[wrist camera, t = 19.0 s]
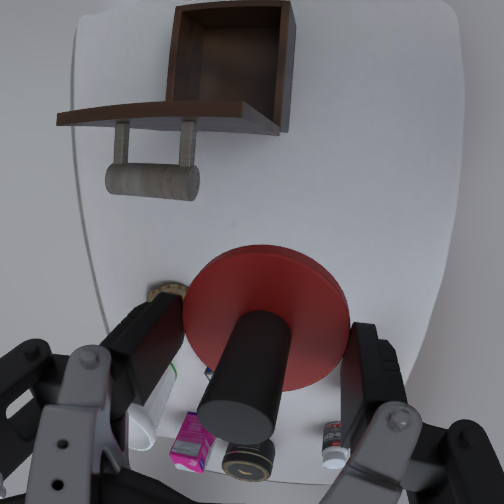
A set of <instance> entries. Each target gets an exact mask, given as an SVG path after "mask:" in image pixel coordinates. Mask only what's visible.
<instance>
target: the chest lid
mask: <svg viewBox="0 0 504 504" xmlns="http://www.w3.org/2000/svg"><path fill="white" fill-rule="evenodd" d="M56 125H57V126H96V127H115V141H114V163H113V164H111V165H110V166H109V167H108V169H107V172H106V175H105V186H106V189H107V191H108V192H109V193H110V194H115V195H128V196H141V197H152V198H163V199H174V200H184V201H193V200H194V199H195V198H196V196H197V194H198V190H199V185H200V174H199V170H198V168H197V167H196V166H194V159H195V145H196V132H197V131H212V132H233V133H248V134H261V135H273V136H279V133H280V127H278V126H277V125H276V124H274V123H273V122H272V121H270V120H269V119H268V118H266V117H265V116H264V115H262V114H261V113H259V112H258V111H257V110H255V109H254V108H252V107H251V106H250V105H248V104H247V103H245V102H244V101H223V100H189V101H160V102H144V103H131V104H120V105H111V106H102V107H95V108H87V109H80V110H74V111H69V112H62V113H58V114H57V122H56ZM130 128H135V129H148V130H159V131H181V138H180V153H179V165H176V164H153V163H128V146H129V129H130Z"/></svg>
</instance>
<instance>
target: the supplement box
mask: <svg viewBox="0 0 504 504" xmlns="http://www.w3.org/2000/svg"><path fill="white" fill-rule="evenodd" d="M216 438H217V437H216V436H214V435H212V434H211V433H209V432H208V431H207V430H206V429H205V428H204V427H203V426H202V425H201V424H200V422H199V420H198V417H197V413H192V412H188V413H187V416H186V418H185V420H184V422H183V424H182V427H181V429H180V431H179V433H178V435H177V438H176V440H175V442H174V444H173V446H172V448H171V451H170V453H169V455H170V457H171V459H172V461H173V462H174V464H175V466H176V468H177V469H181V470H186V471H191V472H196V473H201V474H204V471H205V468H206V466H207V463H208V460H209V457H210V455H211V452H212V449H213V446H214V443H215V440H216Z"/></svg>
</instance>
